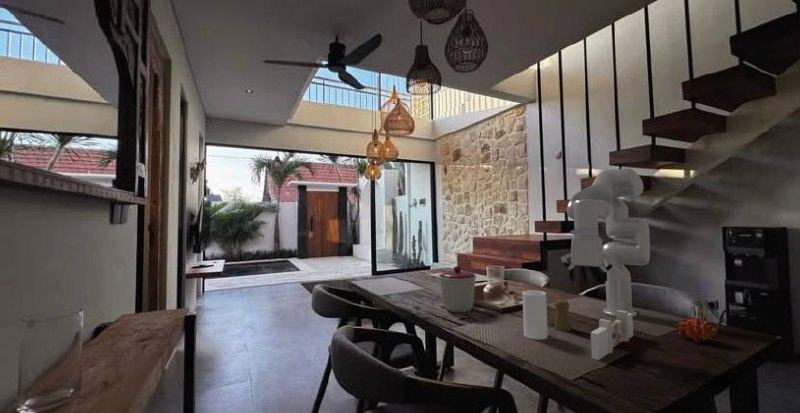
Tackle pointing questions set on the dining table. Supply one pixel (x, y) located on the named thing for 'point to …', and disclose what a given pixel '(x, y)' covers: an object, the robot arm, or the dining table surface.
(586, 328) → the dining table surface
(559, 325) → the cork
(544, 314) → the cup
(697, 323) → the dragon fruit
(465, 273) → the canister
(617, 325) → the gate
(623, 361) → the dining table surface
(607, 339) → the wall frame
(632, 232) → the robot arm
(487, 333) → the dining table surface
